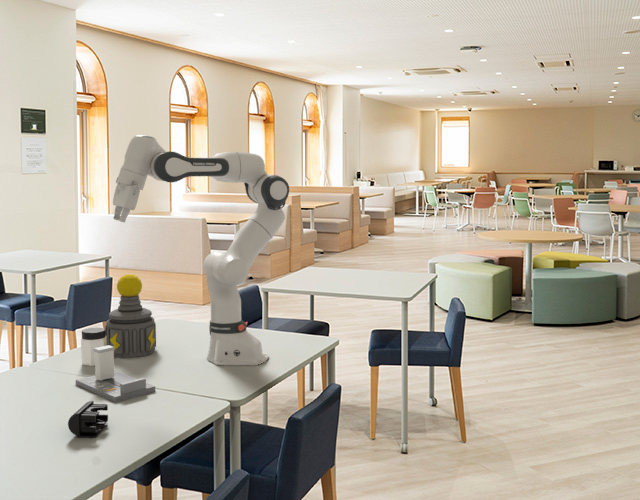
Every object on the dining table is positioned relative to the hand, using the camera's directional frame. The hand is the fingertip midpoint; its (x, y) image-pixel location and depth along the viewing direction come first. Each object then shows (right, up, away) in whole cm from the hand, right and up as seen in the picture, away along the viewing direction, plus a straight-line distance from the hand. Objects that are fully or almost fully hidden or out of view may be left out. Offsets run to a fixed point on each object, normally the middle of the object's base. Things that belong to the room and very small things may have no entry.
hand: (118, 220), depth 226 cm
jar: (-14, -50, +17) cm, 55 cm away
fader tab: (-3, -51, -7) cm, 52 cm away
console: (+2, -54, -10) cm, 55 cm away
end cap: (+6, -58, -46) cm, 74 cm away
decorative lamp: (-5, -49, +32) cm, 58 cm away
